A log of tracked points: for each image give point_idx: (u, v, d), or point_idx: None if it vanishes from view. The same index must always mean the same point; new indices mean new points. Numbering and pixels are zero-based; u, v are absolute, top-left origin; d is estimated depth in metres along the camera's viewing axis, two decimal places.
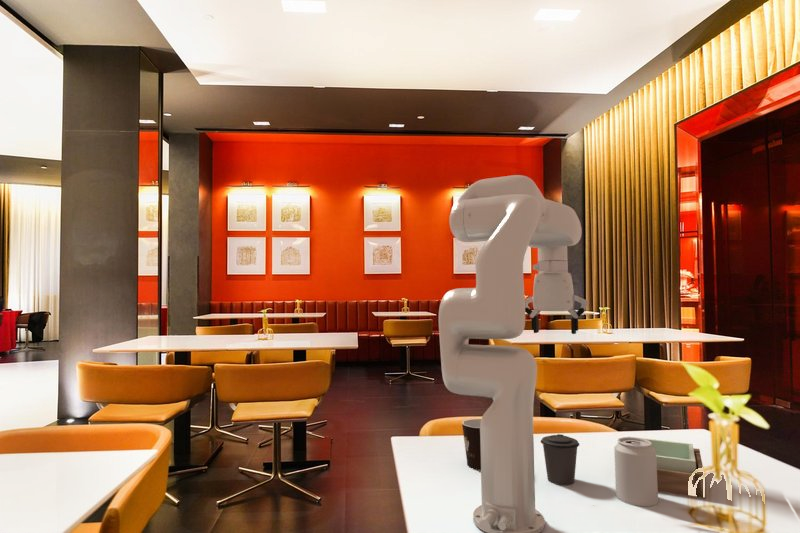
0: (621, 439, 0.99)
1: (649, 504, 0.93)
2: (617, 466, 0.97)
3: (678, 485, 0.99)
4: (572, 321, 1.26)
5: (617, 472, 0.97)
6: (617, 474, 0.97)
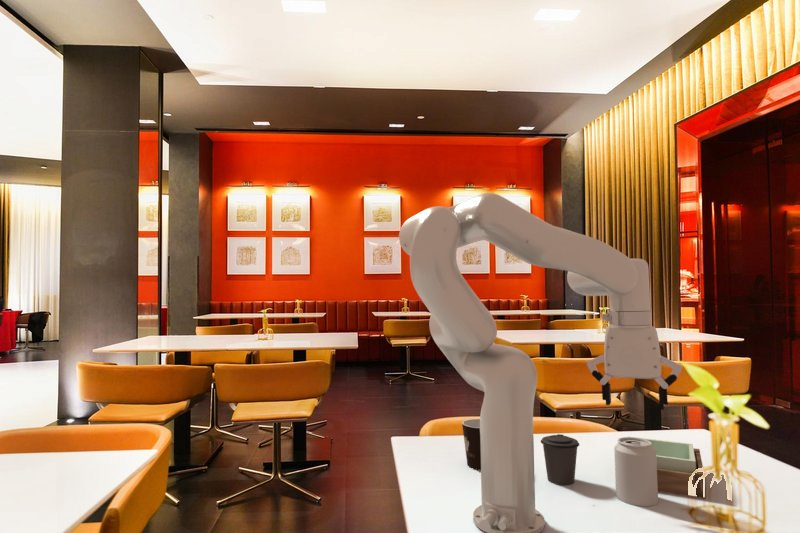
0: (621, 439, 0.99)
1: (649, 504, 0.93)
2: (617, 466, 0.97)
3: (678, 485, 0.99)
4: (660, 393, 0.94)
5: (617, 472, 0.97)
6: (617, 474, 0.97)
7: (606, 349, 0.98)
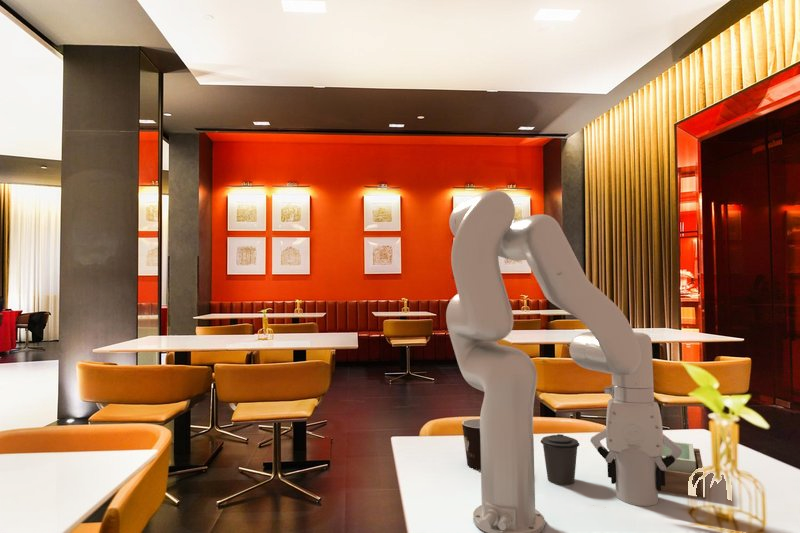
0: None
1: (649, 504, 0.93)
2: (617, 466, 0.97)
3: (678, 485, 0.99)
4: (658, 474, 0.94)
5: (617, 472, 0.97)
6: (617, 474, 0.97)
7: (608, 424, 0.98)
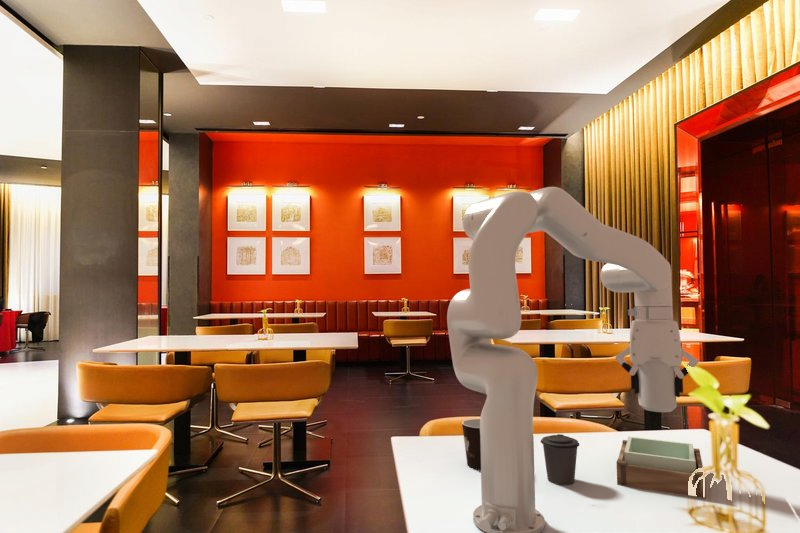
0: None
1: (669, 407, 1.05)
2: (640, 377, 1.09)
3: (678, 485, 0.99)
4: (677, 382, 1.06)
5: (640, 382, 1.09)
6: (640, 384, 1.09)
7: (632, 340, 1.10)
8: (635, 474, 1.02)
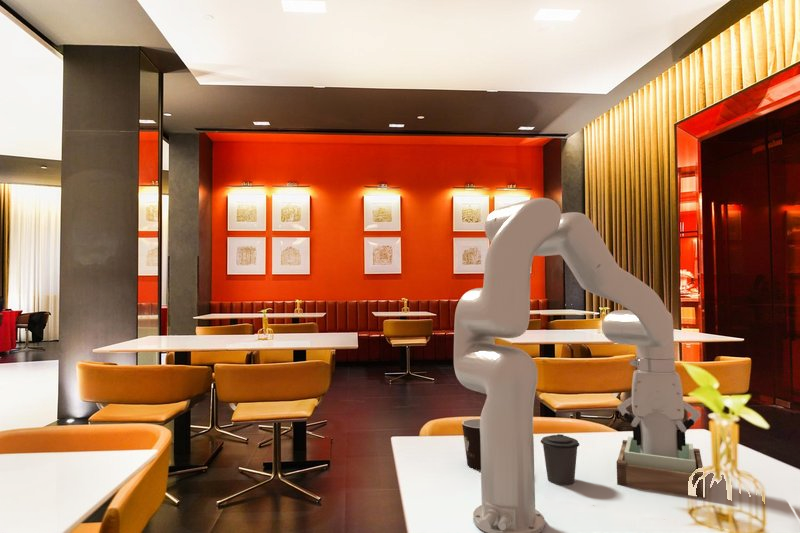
0: None
1: None
2: (642, 429, 1.08)
3: (678, 485, 0.99)
4: (679, 435, 1.05)
5: (642, 434, 1.08)
6: (642, 436, 1.08)
7: (634, 392, 1.09)
8: (635, 474, 1.02)
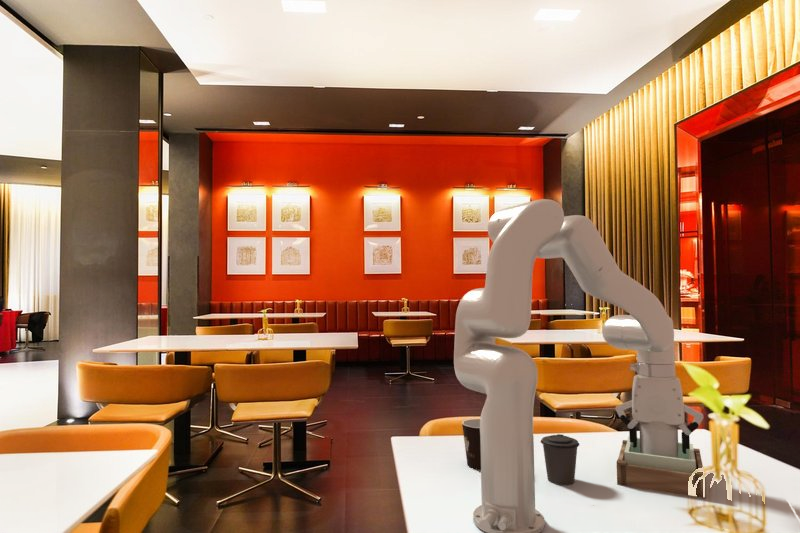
0: None
1: None
2: (642, 441, 1.08)
3: (678, 485, 0.99)
4: (683, 438, 1.05)
5: (642, 446, 1.08)
6: (642, 448, 1.08)
7: (634, 397, 1.09)
8: (635, 474, 1.02)
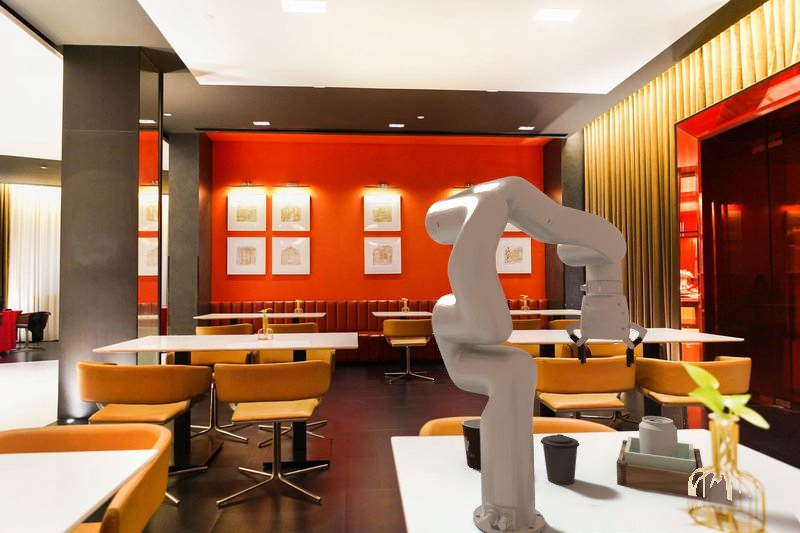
0: (645, 418, 1.11)
1: None
2: (642, 442, 1.08)
3: (678, 485, 0.99)
4: (627, 352, 1.08)
5: (642, 447, 1.08)
6: (642, 448, 1.08)
7: (582, 314, 1.12)
8: (635, 474, 1.02)
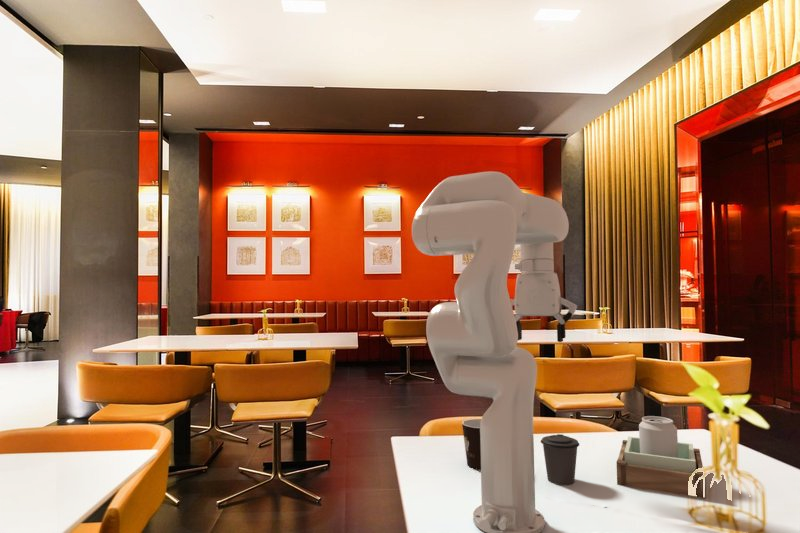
0: (645, 418, 1.11)
1: None
2: (642, 442, 1.08)
3: (678, 485, 0.99)
4: (558, 327, 1.12)
5: (642, 447, 1.08)
6: (642, 448, 1.08)
7: (516, 292, 1.16)
8: (635, 474, 1.02)
